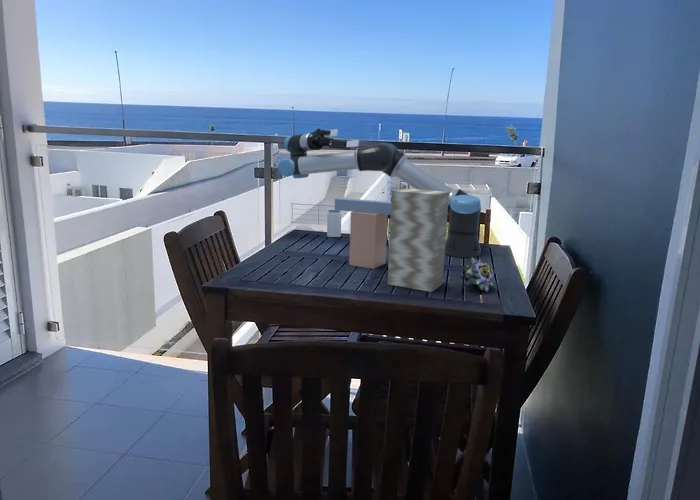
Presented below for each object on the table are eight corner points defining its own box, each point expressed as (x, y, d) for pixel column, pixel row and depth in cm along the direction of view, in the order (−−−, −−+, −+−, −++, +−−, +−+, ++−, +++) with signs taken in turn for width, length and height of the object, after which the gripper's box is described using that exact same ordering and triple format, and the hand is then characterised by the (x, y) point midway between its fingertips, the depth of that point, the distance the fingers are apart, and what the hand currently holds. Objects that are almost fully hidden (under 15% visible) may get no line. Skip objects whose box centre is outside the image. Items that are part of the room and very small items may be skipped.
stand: (387, 284, 168) (391, 190, 162) (399, 277, 177) (404, 188, 171) (431, 291, 162) (438, 194, 155) (442, 284, 170) (449, 191, 164)
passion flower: (483, 307, 166) (484, 283, 157) (452, 294, 171) (451, 271, 162) (499, 282, 171) (500, 258, 162) (469, 271, 176) (468, 246, 168)
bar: (334, 209, 191) (334, 198, 190) (338, 208, 195) (339, 197, 194) (397, 215, 183) (398, 204, 182) (401, 213, 186) (401, 202, 185)
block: (349, 265, 191) (350, 212, 187) (361, 259, 200) (363, 208, 196) (373, 269, 187) (376, 214, 183) (385, 263, 196) (387, 211, 191)
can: (341, 235, 246) (342, 210, 243) (340, 238, 240) (340, 212, 237) (327, 235, 247) (328, 209, 244) (325, 237, 240) (326, 211, 238)
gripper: (293, 123, 223) (329, 118, 209) (332, 142, 241) (368, 138, 227) (290, 140, 222) (326, 136, 208) (330, 158, 241) (365, 155, 227)
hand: (348, 137), depth 218 cm, fingers open, 13 cm apart
